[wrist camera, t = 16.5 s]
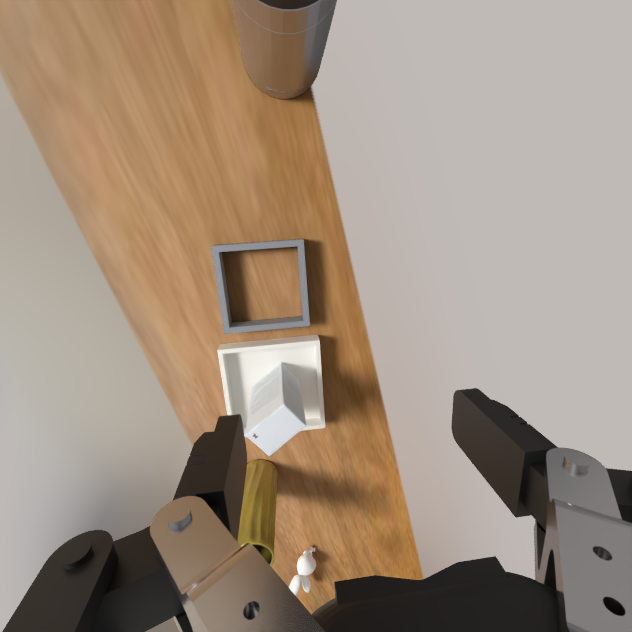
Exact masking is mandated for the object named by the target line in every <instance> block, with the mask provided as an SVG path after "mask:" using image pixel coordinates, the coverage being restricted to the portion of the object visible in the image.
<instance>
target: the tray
mask: <svg viewBox="0 0 632 632" xmlns="http://www.w3.org/2000/svg"><path fill="white" fill-rule="evenodd" d="M217 351H218V357H219V364H220V370H221V377H222V383H223V390H224V396H225V403H226V409H227V415H236V414H240V415H241V417H242V423H243V430H244V437H246V436H245V432H246V425H247V418H248V411H249V404H250V397H251V390H252V387H253V386H254V385H255V384H256V383H258V382H259V381H260V380H261V379H262V378H263V377H265V376H266V375H267V374H268V373H269V372H271V371H272V370H273V369H274V368H275V367H277V366H278V365H279V364H280V363H283V364H284V365H285V366H286V367H287V368H288V369H289V370H290V372H291V373H292V374H293V375H294V376H295V377H296V378H297V379H298V380H299V382H300V388H301V394H302V401H303V407H304V413H305V419H306V427H304V428H303V429H302V430H310V429H319V428H325V415H324V400H323V384H322V369H321V354H320V340H319V337H318V335H308V336H297V337H287V338H277V339H266V340H256V341H245V342H235V343H225V344H220V346H219V348H218V350H217ZM302 430H301V431H302Z"/></svg>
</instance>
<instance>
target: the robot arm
mask: <svg viewBox="0 0 632 632" xmlns="http://www.w3.org/2000/svg"><path fill="white" fill-rule="evenodd" d="M230 1H231V5H232V10H233V15H234V20H235V24H236V29H237V34H238V38H239V44H240V48H241V53H242V57H243V62H244V65H245V69H246V71H247V73H248V75H249V77H250V79H251V80H252V81H253V83H254V84H255V85H256V86H257V87H258V88H259V89H260V90H261V91H262V92H264V93H266V94H267V95H269V96H272V97H275V98H280V99H289V98H294V97H296V96H299V95H301V94H302V93H304V92H305V91H306V90H308V88H309V87H310V86H311V85H312V84H313V82H314V80H315V78H316V77H317V74H318V71H319V68H320V64H321V60H322V57H323V53H324V49H325V45H326V41H327V37H328V33H329V30H330V26H331V21H332V18H333V14H334V10H335V5H336V2H337V0H230ZM452 433H453V436H454V439H455V441H456V443H457V444H458V445H459V447H460V448H461V449H462V450H463V452H464V453H465V454H466V455H467V457H468V458H469V459H470V460H471V462H472V463H473V464H474V465H475V467H476V468H477V469H478V471H479V472H480V473H481V474H482V476H483V477H484V478H485V479H486V481H487V482H488V483H489V484H490V486H491V487H492V488H493V489H494V491H495V492H496V493H497V494H498V495H499V497H500V498H501V499H502V501H503V502H504V503H505V504H506V506H507V507H508V508H509V509H510V511H511V512H512V513H513V514H514V516H515V517H522V516H529V515H532V516H533V517H534V518H535V519H536V520H535V526H534V539H535V540H534V543H535V544H534V545H535V580H533V579H531V578H528V577H525V576H522V575H518V574H514V573H510V572H505V570H504V569H503V567H502V566H501V564H500V563H499V561H498V559H497V558H496V557H489V558H482V559H476V560H470V561H463V562H458V563H456V564H453V565H451V566H449V567H448V568H445V569H444V570H441V571H440V572H438V573H436V574H434V575H432V576H430V577H428V578H426V579H423V580H411V579H402V578H393V577H385V576H376V575H375V576H369V577H362V578H356V579H350V580H344V581H337V582H335V599H333V600H331V601H329V602H327V603H326V604H324V605H323V606H321V607H320V608H318V609H317V610H316V611H315V612H314V613H313V614H312V615H311V614H310V613H309V611H308V610H307V609H306V608H305V607H304V605H303V604H302V603H301V602H300V601H299V599H298V598H297V597H296V596H295V595H294V593H293V592H292V591H291V590H290V589H289V588H288V586H287V585H286V584H285V583H284V582H283V580H282V579H281V578H280V577H279V576H278V574H277V573H276V572H275V571H274V570H273V568H272V567H271V566H270V565H269V564H268V562H267V561H266V560H265V559H264V558H263V557H262V555H261V554H260V553H259V552H258V551H257V549H256V548H255V547H254V546H253V545H252V544H250V543H246V544H245V545H243V546H240V545H239V543H238V542H237V541H238V533H239V525H240V517H241V510H242V502H243V494H244V486H245V478H246V471H247V452H246V444H245V437H244V430H243V423H242V417H241V415H240V414H236V415H227V416H220V417H219V418H218V421H217V425H216V428H215V431H214V432H205V433H203V434H202V436H201V437H200V438H199V439H198V440H197V441H196V442H195V443H194V446H193V448H192V451H191V454H190V457H189V459H188V461H187V466H186V467H185V469H184V472H183V475H182V477H181V480H180V483H179V485H178V488H177V491H176V494H175V496H174V499H173V501H172V502H170V503H168V504H167V505H165V506H164V507H163V508H161V509H160V510H159V512H158V513H157V514H156V515H155V517H154V518H153V520H152V522H151V525H150V526H149V527H147V528H145V529H144V530H141V531H139V532H136V533H134V534H132V535H129V536H126V537H124V538H121V539H119V540H116V541H114V542H113V539H112V537H111V535H110V534H109V533H108V532H106V531H103V530H94V531H88V532H85V533H82V534H80V535H78V536H76V537H74V538H72V539H70V540H69V541H67V542H66V543H64V544H63V545H62V546H60V547H59V548H58V549H57V550H56V551H55V552H54V553H53V554H52V555H51V556H50V557H49V558H48V560H47V561H46V563H45V564H44V566H43V567H42V569H41V570H40V572H39V574H38V575H37V577H36V579H35V580H34V582H33V583H32V585H31V586H30V588H29V590H28V591H27V593H26V595H25V596H24V598H23V599H22V601H21V603H20V605H19V606H18V607H17V609H16V611H15V612H14V614H13V615H12V617H11V619H10V620H9V622H8V624H7V625H6V627H5V628H4V630H3V632H145V631H147V630H149V629H151V628H153V627H155V626H157V625H159V624H161V623H163V622H164V621H167V620H168V619H170V618H172V617H173V619H174V621H175V623H176V625H177V627H178V630H179V632H632V471H626V470H617V469H607V468H605V467H604V466H603V465H602V464H601V463H600V462H599V461H598V460H596V459H595V458H593V457H591V456H589V455H587V454H585V453H583V452H580V451H577V450H574V449H569V448H558V447H556V446H555V445H554V444H553V443H552V442H550V441H549V440H548V439H547V438H545V437H544V436H543V435H542V434H541V433H539V432H538V431H537V430H536V429H534V428H533V427H532V426H531V425H528V424H527V422H526V421H524V420H523V419H522V418H521V417H519V416H518V415H517V414H516V413H515V412H514V411H512V410H511V409H510V408H509V407H507V406H505V405H503V404H501V403H499V402H497V401H495V400H491V399H489V398H488V397H487V396H486V395H485V394H484V393H482V392H481V391H480V390H479V389H477V388H474V389H465V390H457V391H456V392H455V393H454V400H453V414H452Z"/></svg>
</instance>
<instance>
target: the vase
mask: <svg viewBox="0 0 632 632" xmlns="http://www.w3.org/2000/svg"><path fill="white" fill-rule="evenodd" d="M277 481H278V471H277V469H276V467H275V466H274V465H273V464H272V463H271V462H269V461H266V460H255V461H252V462H250V463H248V464H247V471H246V478H245V486H244V494H243V502H242V510H241V517H240V525H239V533H238V541H237V542H238V543H239V545H240V546H243V545H245V544H246V543H250V544H252V545H253V546H254V547H255V548H256V549H257V551H258V552H259V553H260V554H261V555H262V557H263V558H264V559H265V560H266V561H267V562H268V564H269V565H270V566H272V564H273V562H274V536H275V514H276V497H277Z"/></svg>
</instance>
